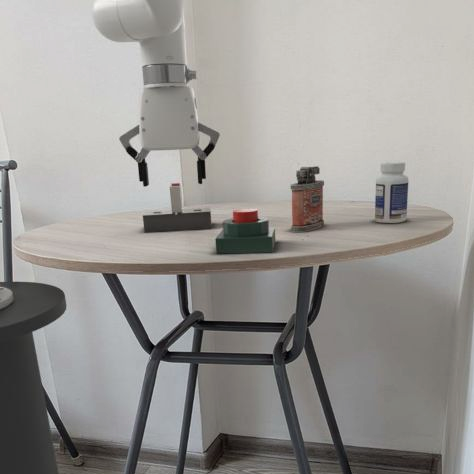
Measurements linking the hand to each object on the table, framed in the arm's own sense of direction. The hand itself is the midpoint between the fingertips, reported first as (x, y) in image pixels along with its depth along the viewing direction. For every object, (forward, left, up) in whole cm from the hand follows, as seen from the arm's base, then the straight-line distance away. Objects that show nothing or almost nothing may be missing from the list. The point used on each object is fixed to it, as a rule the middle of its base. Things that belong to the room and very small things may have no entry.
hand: (173, 184), depth 104 cm
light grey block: (+1, 0, -5) cm, 5 cm away
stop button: (-8, -24, -4) cm, 25 cm away
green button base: (-8, -24, -8) cm, 26 cm away
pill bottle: (+22, -31, -8) cm, 39 cm away
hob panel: (+1, 0, -8) cm, 8 cm away
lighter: (+10, -22, -8) cm, 25 cm away
